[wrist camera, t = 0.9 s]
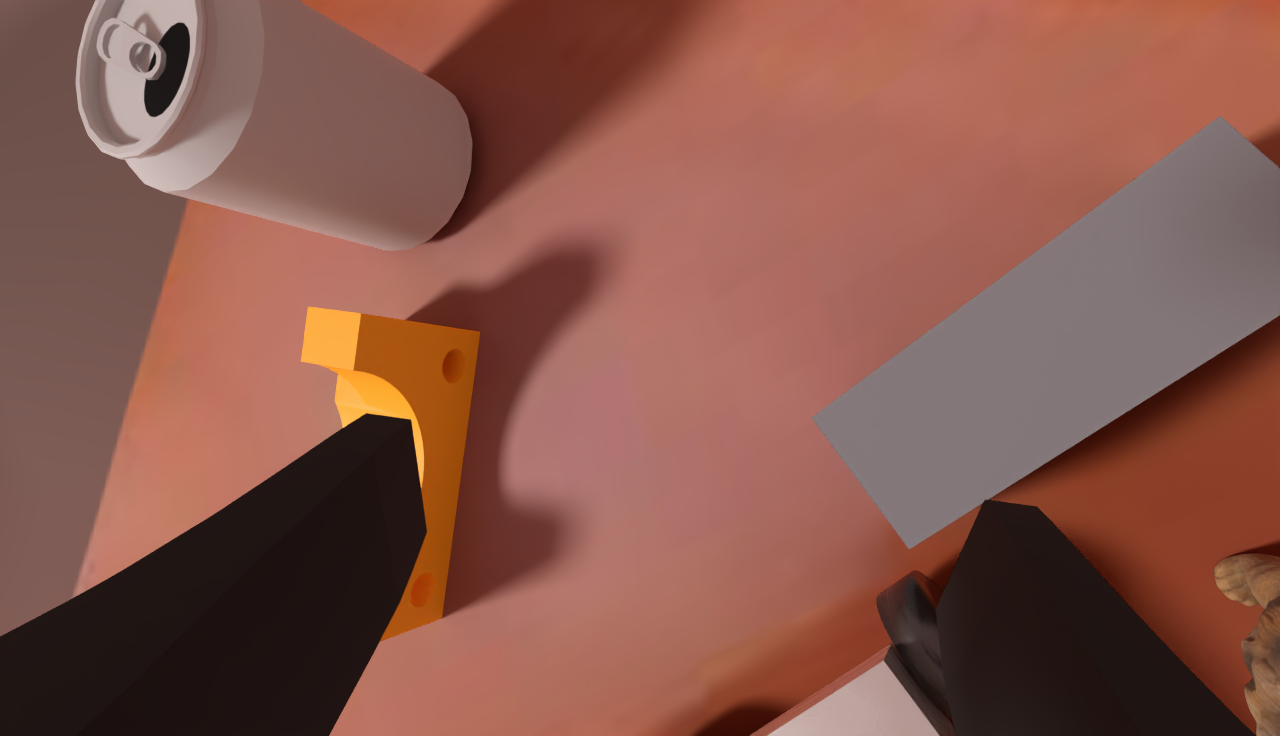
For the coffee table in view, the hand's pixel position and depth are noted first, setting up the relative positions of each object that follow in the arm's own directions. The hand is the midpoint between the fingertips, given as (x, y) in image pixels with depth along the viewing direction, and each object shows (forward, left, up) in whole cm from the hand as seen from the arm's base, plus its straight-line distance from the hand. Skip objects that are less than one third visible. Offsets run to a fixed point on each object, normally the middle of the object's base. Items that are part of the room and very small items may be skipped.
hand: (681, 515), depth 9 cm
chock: (-1, -6, -15) cm, 16 cm away
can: (+21, +7, -15) cm, 27 cm away
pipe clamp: (+11, +15, -16) cm, 24 cm away
